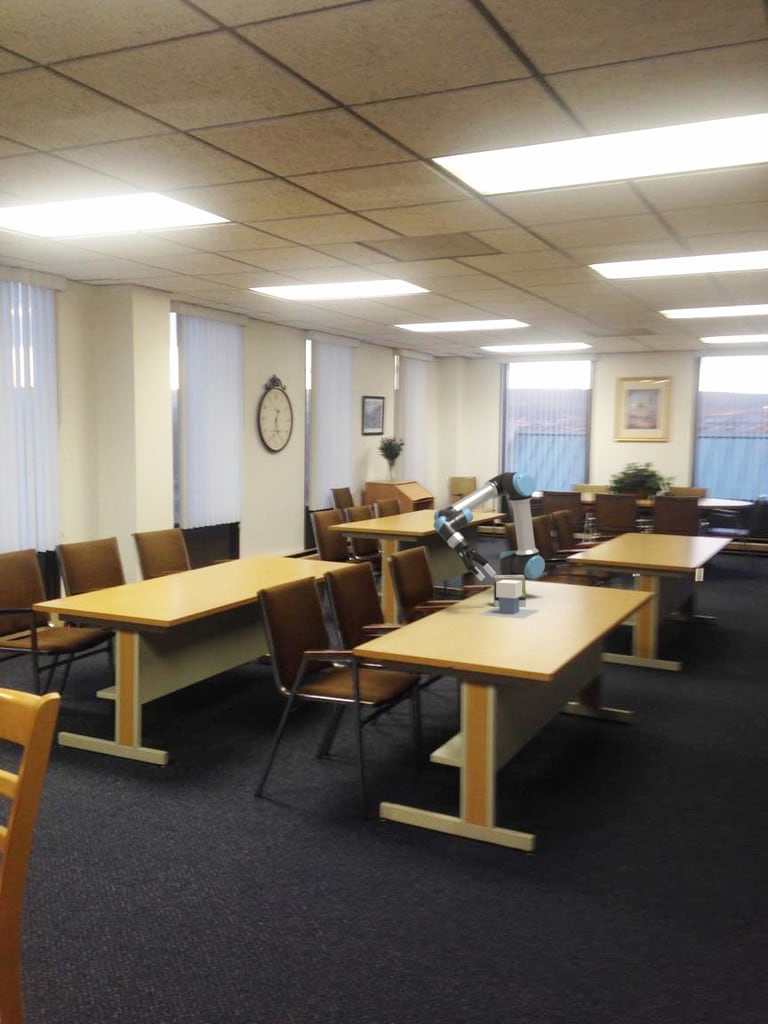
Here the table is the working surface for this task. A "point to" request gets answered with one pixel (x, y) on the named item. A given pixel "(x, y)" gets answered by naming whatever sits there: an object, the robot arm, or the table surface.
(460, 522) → the robot arm
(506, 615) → the mat
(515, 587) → the cap
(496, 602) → the tea box
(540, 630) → the table surface
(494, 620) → the table surface
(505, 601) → the carton
